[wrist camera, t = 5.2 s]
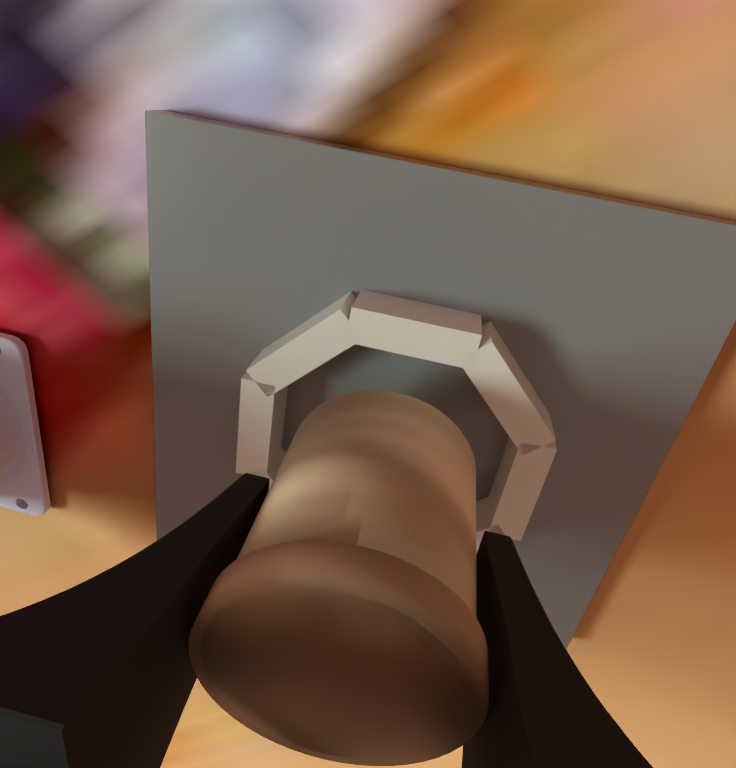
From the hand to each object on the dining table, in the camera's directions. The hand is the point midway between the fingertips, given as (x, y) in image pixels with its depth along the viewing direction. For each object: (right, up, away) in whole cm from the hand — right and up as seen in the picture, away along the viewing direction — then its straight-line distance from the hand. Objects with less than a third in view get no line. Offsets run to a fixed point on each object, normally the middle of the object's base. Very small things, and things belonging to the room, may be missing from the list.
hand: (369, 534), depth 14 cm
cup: (0, +1, +1) cm, 2 cm away
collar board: (+1, +2, +5) cm, 6 cm away
